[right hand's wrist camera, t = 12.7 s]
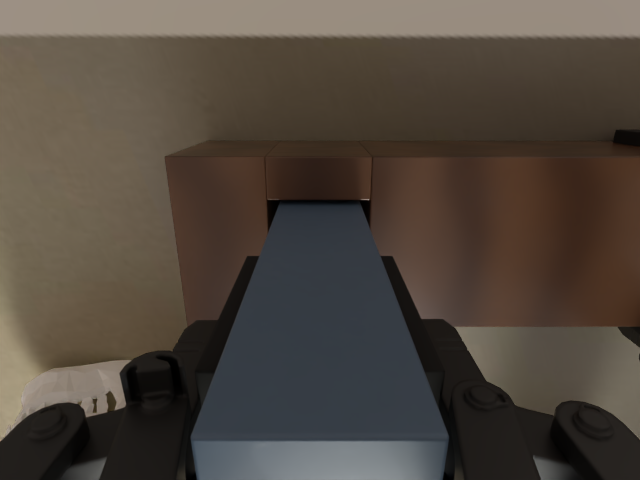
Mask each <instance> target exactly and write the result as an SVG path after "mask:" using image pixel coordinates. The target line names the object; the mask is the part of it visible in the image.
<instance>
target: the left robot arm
mask: <svg viewBox="0 0 640 480" xmlns="http://www.w3.org/2000/svg"><path fill="white" fill-rule="evenodd" d="M613 143H619V144H625V145H632V146H639V147H640V130H616V132H615V136H614V140H613ZM618 328H619V330H620V331H621V333H622V334H623V335H624V336H625V337H627V338H628V339H629V340H631V341H632V342H633V343H635V344H636V345H637V346H638V347H640V326H620V327H618ZM639 360H640V354H639Z"/></svg>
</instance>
